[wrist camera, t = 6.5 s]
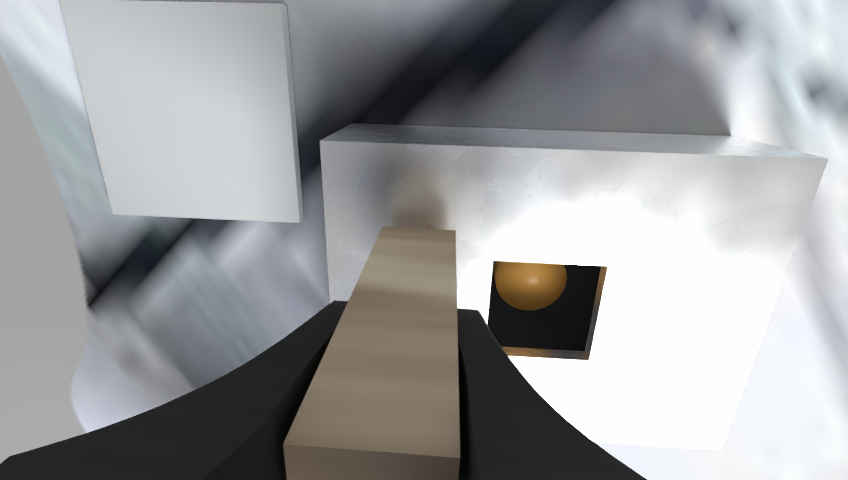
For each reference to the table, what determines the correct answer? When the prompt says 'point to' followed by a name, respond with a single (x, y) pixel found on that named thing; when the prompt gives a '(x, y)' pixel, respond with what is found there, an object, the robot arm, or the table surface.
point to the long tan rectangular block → (388, 371)
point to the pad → (190, 106)
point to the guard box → (596, 252)
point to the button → (529, 283)
